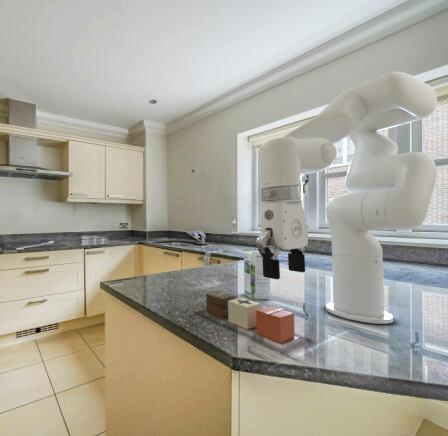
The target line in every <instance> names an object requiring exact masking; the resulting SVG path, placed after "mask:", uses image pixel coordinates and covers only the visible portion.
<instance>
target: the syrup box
mask: <svg viewBox="0 0 448 436" xmlns="http://www.w3.org/2000/svg"><path fill="white" fill-rule="evenodd" d="M243 274H244V275H243V289H244V290H243V291H244V293H243V294H244V296H247V297H249V298H251V299H255V300H256V299H257V300H271V278H267V277H264V276H263V261H262V258H261V254H260V253H259V251H258V250H257V251H256V250H255V251H254V250H249V251H244V252H243Z"/></svg>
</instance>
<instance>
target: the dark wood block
mask: <svg viewBox="0 0 448 436" xmlns="http://www.w3.org/2000/svg"><path fill="white" fill-rule="evenodd" d="M205 297H206V301H205V302H206V311H207V313H210V314H212V315H215V316H217V317H219V318H222V319H223V318H226V317H228V301H230V300H234V299H236V295H234V294H230V293H227V292H224V291H221V290H218V291H217V290H216V291H213V292H207V293H206V294H205ZM207 313H206V314H207ZM219 318H218V319H219Z"/></svg>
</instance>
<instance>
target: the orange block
mask: <svg viewBox="0 0 448 436" xmlns="http://www.w3.org/2000/svg"><path fill="white" fill-rule="evenodd" d="M256 328H257V329H256V332H257V334H260V335H262V336H265V337H267V338H269V339H272V340H274V341H277V342H279V343H282V342H285V341H287V340H289V339H292V338H294V337H295V313H294V312H291V311H288V310H285V309H284V308H282V307H280V308H279V307H278V308H277V307H274V306H271V305H269V306H265V307H261V309H258V310H256ZM257 334H256V335H257ZM260 335H259V336H260ZM262 336H261V337H262ZM267 338H266V339H267ZM269 339H268V340H269ZM272 340H271V341H272ZM274 341H273V342H274ZM277 342H276V343H277ZM279 343H278V344H279Z"/></svg>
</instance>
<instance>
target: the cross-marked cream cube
mask: <svg viewBox="0 0 448 436" xmlns="http://www.w3.org/2000/svg"><path fill="white" fill-rule="evenodd" d="M258 309H262V303H261V302H257V301H254V300H250V299H247V298H243V297H239V298H235V299H234V300H230V301H228V320H227V321H229V322H231V323H233V324H236V325H238V326H241V327H243V328H245V329H250V328H253V327H256V310H258ZM231 323H230V324H231ZM233 324H232V325H233ZM236 325H235V326H236ZM238 326H237V327H238ZM243 328H242V329H243ZM245 329H244V330H245Z"/></svg>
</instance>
